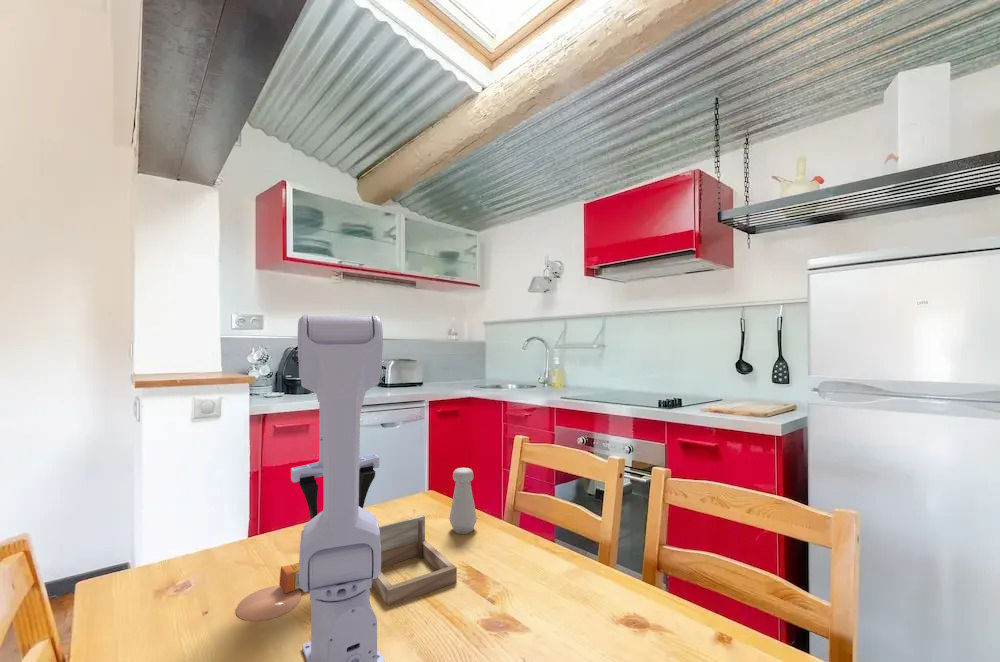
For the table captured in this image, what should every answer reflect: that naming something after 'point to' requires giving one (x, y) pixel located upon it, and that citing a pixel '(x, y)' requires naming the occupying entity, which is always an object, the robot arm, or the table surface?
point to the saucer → (267, 604)
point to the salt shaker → (463, 502)
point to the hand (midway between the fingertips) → (337, 515)
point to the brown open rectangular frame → (405, 544)
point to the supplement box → (289, 577)
